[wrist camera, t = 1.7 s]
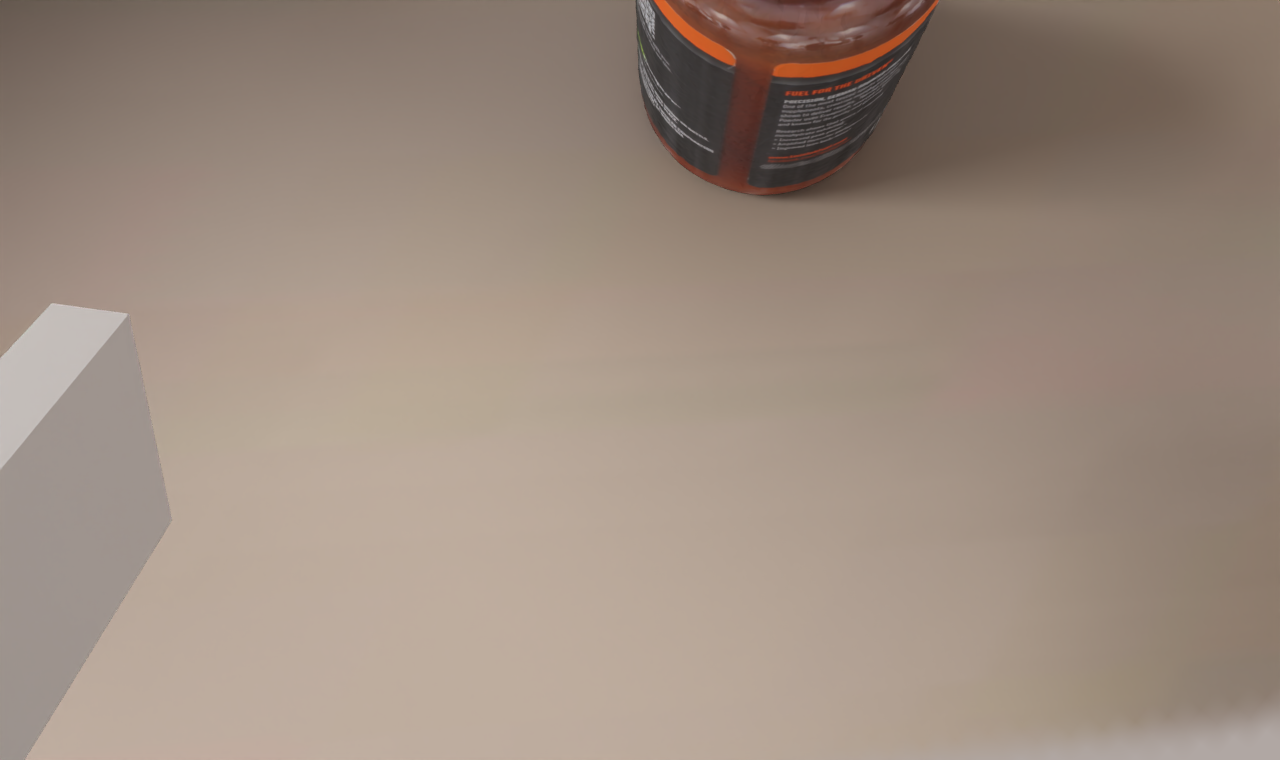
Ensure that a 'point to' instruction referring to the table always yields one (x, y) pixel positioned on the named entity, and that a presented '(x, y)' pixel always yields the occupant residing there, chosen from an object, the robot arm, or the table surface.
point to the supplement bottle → (771, 83)
